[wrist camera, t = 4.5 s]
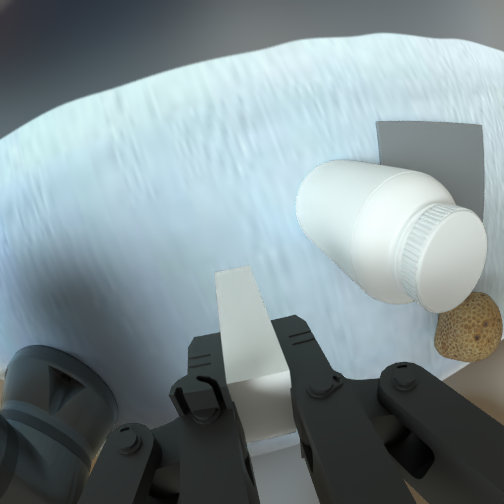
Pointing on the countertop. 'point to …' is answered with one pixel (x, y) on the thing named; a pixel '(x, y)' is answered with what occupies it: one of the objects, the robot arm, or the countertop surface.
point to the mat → (438, 156)
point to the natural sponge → (469, 329)
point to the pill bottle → (393, 232)
